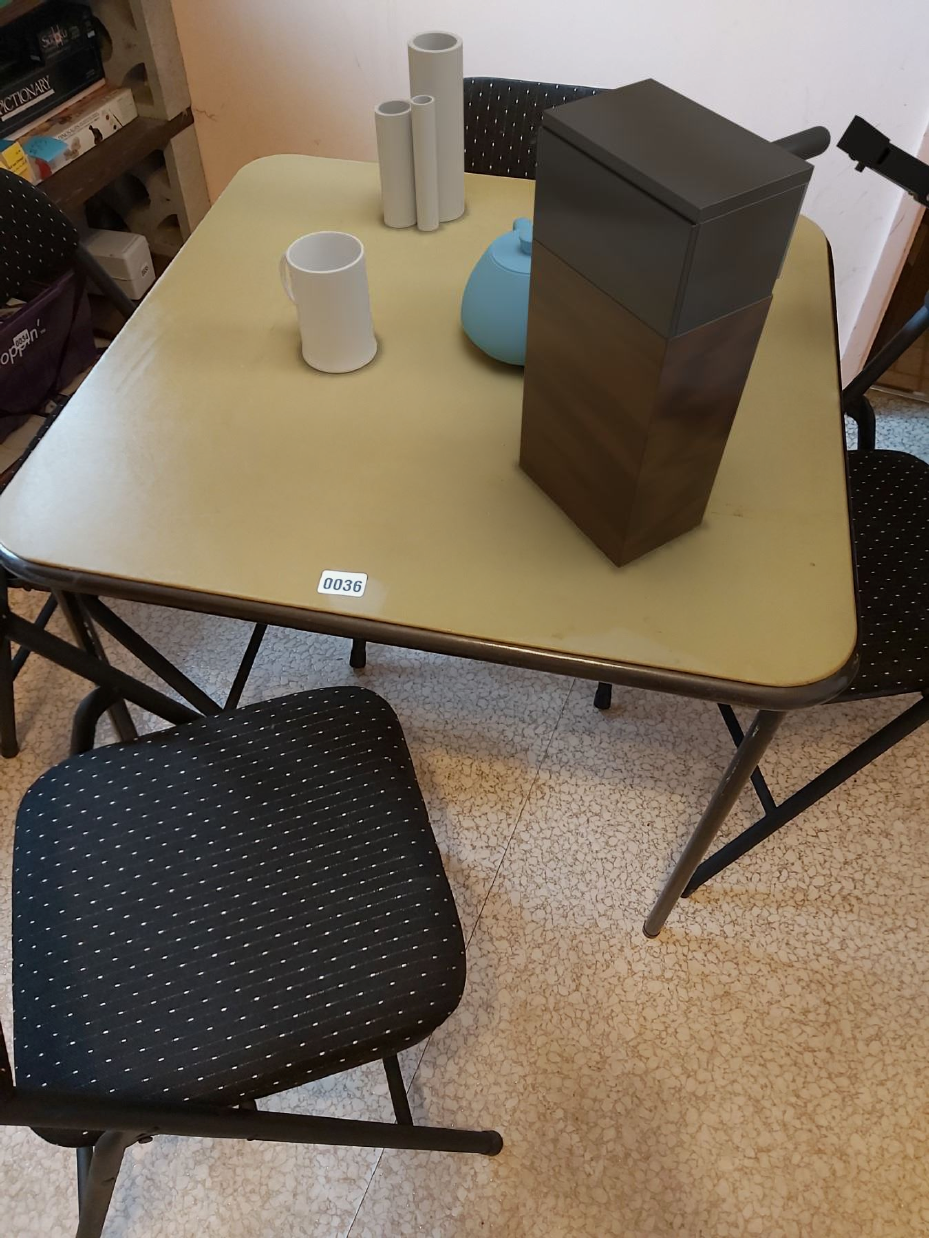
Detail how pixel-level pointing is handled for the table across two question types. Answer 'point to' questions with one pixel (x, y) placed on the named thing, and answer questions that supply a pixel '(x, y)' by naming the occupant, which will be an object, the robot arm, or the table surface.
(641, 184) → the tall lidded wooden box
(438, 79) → the vase
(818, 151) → the top drawer
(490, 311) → the teapot
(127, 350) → the table surface
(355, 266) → the mug
